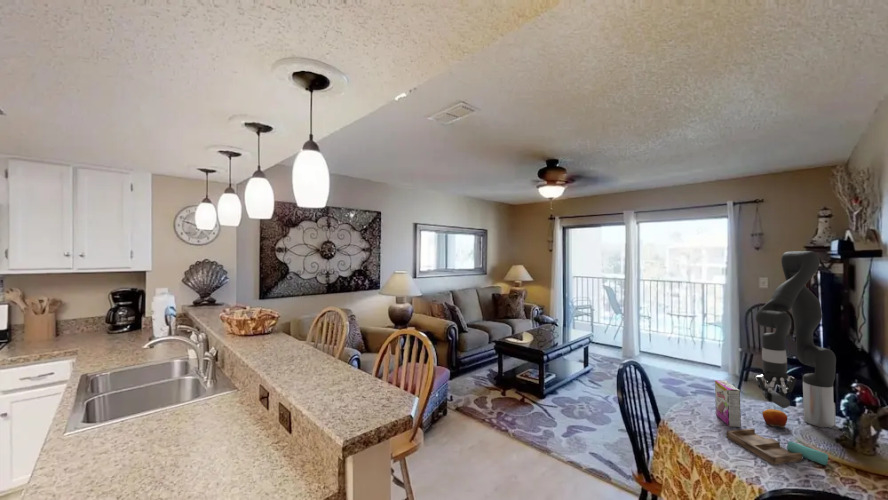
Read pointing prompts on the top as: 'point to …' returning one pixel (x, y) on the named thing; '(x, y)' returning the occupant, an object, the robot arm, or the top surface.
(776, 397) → the gray rounded cylinder
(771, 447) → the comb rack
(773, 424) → the fruit
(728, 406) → the candy bar box
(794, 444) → the teal rod
